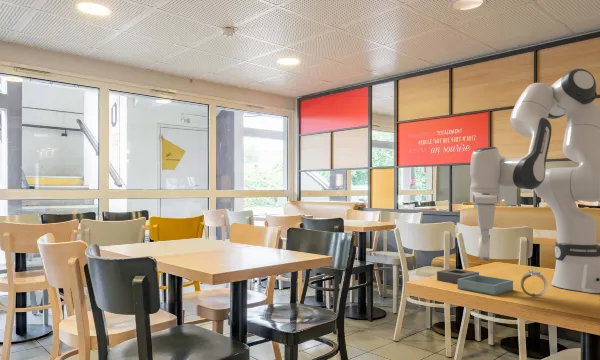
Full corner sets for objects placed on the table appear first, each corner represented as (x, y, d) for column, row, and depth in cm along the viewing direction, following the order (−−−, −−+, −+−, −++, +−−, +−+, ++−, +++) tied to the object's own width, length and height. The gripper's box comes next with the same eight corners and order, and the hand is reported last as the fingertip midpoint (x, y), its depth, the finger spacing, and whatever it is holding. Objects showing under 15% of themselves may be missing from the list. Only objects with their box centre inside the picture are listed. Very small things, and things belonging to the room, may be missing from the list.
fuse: (487, 259, 143) (487, 234, 143) (490, 260, 140) (491, 234, 140) (477, 258, 143) (477, 233, 143) (480, 260, 140) (480, 234, 140)
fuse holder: (452, 276, 162) (452, 268, 162) (479, 281, 154) (479, 272, 154) (437, 280, 155) (437, 271, 155) (463, 284, 148) (463, 275, 148)
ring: (546, 297, 132) (546, 269, 132) (548, 299, 129) (548, 271, 129) (520, 294, 134) (520, 268, 134) (521, 297, 131) (521, 269, 131)
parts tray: (476, 283, 150) (476, 274, 150) (513, 290, 141) (513, 280, 141) (457, 288, 142) (457, 279, 142) (494, 295, 133) (494, 285, 133)
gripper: (473, 197, 153) (473, 238, 152) (474, 197, 134) (474, 244, 133) (493, 197, 151) (493, 239, 150) (497, 198, 131) (497, 245, 131)
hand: (484, 241), depth 142 cm, fingers closed on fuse, 3 cm apart
